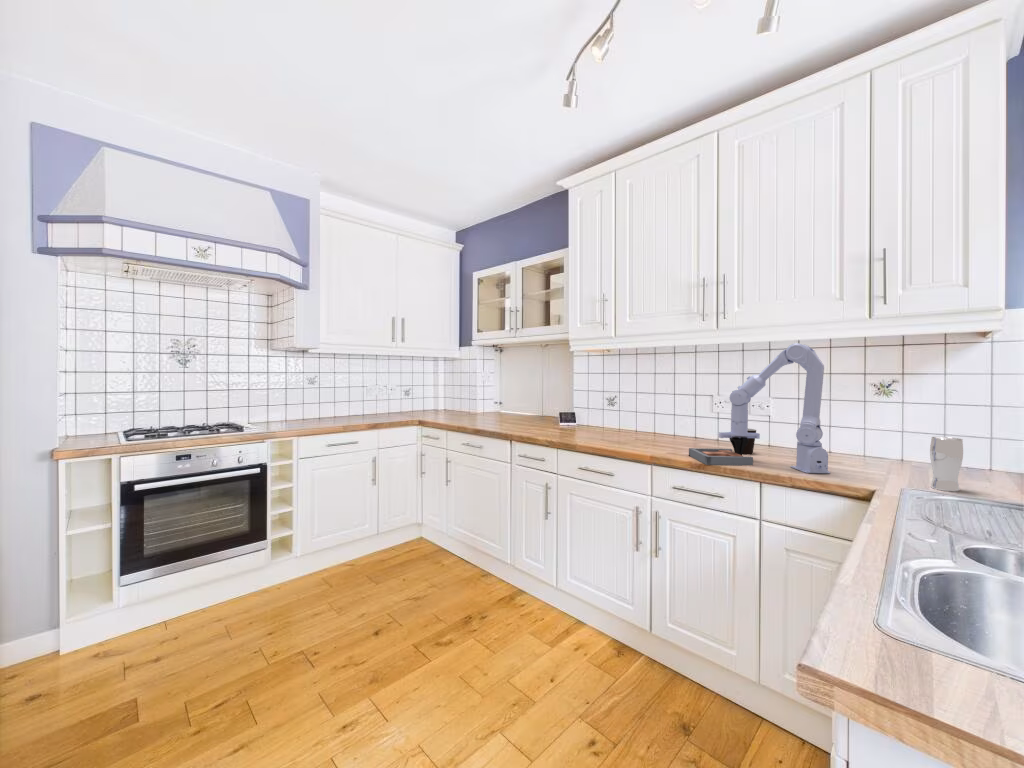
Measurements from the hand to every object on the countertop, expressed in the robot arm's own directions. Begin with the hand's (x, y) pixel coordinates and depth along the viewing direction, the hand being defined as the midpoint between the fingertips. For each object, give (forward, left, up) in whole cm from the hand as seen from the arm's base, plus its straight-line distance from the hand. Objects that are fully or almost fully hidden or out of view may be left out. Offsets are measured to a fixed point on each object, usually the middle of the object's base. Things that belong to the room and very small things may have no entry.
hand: (738, 457), depth 170 cm
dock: (0, +6, -1) cm, 7 cm away
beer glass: (-38, -42, -2) cm, 57 cm away
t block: (0, +7, -2) cm, 7 cm away
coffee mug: (+18, -11, -2) cm, 21 cm away
